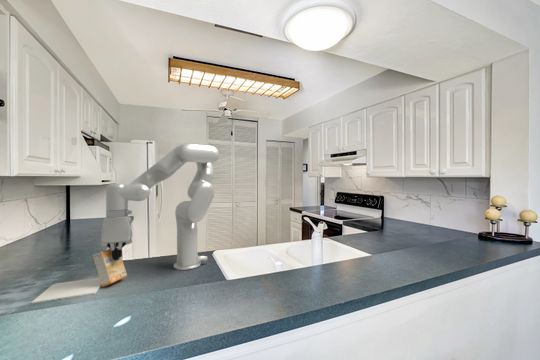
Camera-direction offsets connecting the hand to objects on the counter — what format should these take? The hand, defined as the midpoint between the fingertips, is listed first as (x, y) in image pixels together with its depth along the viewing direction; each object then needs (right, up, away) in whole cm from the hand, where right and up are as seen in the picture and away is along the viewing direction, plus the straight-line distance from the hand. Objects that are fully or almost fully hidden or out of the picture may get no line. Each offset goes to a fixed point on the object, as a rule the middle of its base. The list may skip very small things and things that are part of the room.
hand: (116, 259), depth 97 cm
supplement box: (0, -9, 0) cm, 9 cm away
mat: (-13, -10, -5) cm, 17 cm away
